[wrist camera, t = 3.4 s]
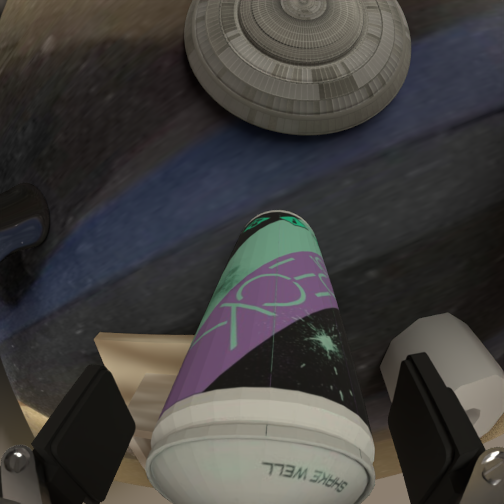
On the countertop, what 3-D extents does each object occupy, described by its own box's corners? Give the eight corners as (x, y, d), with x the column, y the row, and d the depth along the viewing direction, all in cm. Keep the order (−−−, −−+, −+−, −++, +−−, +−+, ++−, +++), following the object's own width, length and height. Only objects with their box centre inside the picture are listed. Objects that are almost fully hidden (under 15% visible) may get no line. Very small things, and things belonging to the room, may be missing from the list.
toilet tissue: (398, 424, 27) (415, 486, 19) (370, 340, 24) (396, 416, 16) (470, 389, 25) (500, 444, 17) (462, 295, 22) (515, 352, 14)
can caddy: (99, 332, 26) (55, 384, 19) (296, 331, 24) (299, 405, 16) (148, 438, 31) (127, 488, 24) (299, 446, 29) (299, 506, 22)
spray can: (319, 280, 22) (368, 587, 4) (244, 286, 23) (165, 581, 4) (313, 205, 21) (436, 539, 2) (233, 214, 21) (48, 511, 3)
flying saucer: (403, 147, 19) (438, 150, 14) (185, 133, 20) (154, 131, 15) (395, -29, 14) (418, -62, 9) (198, -41, 15) (178, -78, 10)
